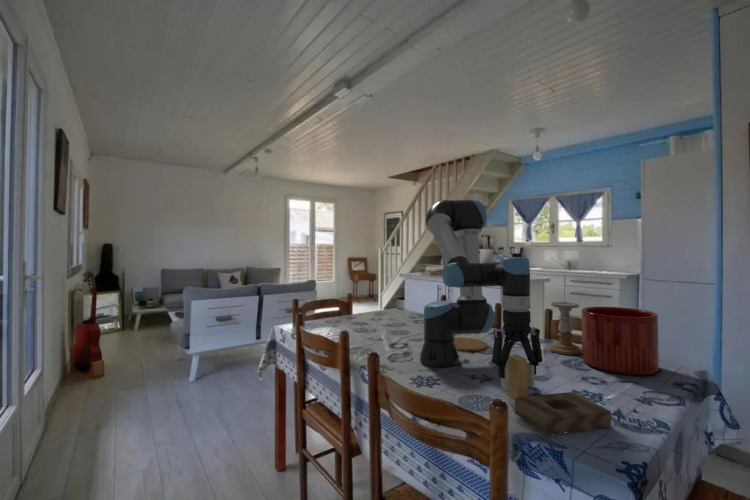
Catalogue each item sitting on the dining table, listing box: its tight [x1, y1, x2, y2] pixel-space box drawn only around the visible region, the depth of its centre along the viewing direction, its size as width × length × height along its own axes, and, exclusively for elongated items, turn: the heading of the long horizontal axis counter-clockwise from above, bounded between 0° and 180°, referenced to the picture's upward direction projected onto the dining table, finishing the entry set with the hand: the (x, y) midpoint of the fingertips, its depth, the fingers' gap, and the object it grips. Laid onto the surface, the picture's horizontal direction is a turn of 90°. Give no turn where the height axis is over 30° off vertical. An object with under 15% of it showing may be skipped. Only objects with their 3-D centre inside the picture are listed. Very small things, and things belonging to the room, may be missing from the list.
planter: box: [581, 306, 660, 377], centre depth 128 cm, size 23×23×20 cm
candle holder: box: [549, 301, 582, 356], centre depth 148 cm, size 12×12×20 cm
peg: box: [507, 354, 529, 401], centre depth 102 cm, size 3×5×12 cm, turn 11°
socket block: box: [514, 391, 612, 437], centre depth 88 cm, size 18×12×4 cm, turn 100°
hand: (517, 387), depth 102 cm, fingers open, 8 cm apart
